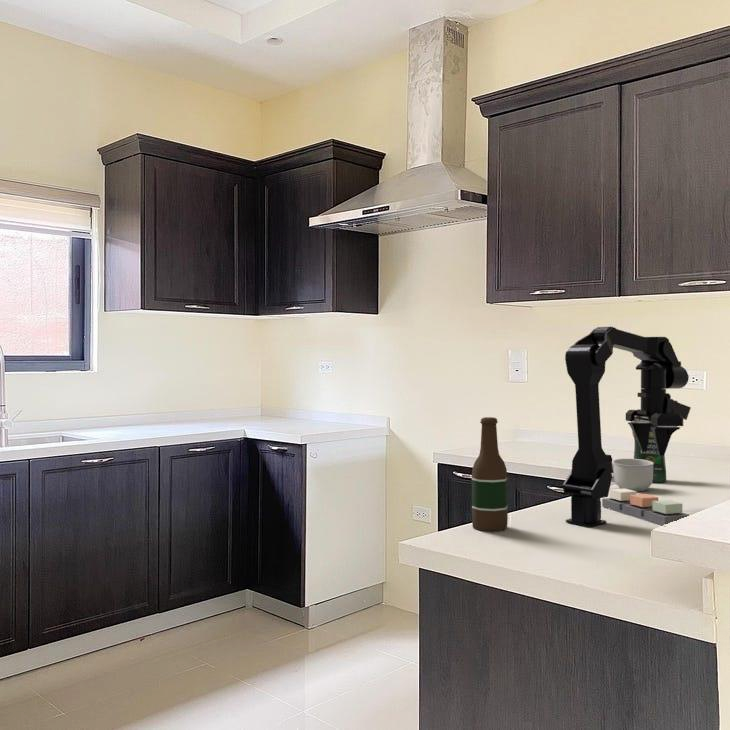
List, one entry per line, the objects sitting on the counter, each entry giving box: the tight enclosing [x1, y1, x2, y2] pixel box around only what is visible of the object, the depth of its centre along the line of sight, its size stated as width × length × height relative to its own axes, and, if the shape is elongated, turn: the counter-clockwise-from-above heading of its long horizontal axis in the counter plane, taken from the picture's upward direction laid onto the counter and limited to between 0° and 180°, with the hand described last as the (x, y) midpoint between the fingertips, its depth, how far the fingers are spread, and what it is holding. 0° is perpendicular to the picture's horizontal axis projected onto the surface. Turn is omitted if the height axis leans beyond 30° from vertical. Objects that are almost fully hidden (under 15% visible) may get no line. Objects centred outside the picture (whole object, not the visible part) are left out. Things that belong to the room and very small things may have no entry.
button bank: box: [601, 497, 690, 526], centre depth 173 cm, size 23×7×2 cm, turn 16°
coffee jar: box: [631, 421, 667, 484], centre depth 221 cm, size 10×8×19 cm
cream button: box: [609, 488, 638, 501], centre depth 181 cm, size 4×4×2 cm
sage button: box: [652, 499, 683, 514], centre depth 166 cm, size 4×4×2 cm
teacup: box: [611, 458, 654, 492], centre depth 208 cm, size 14×11×8 cm
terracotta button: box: [630, 493, 659, 507], centre depth 173 cm, size 4×4×2 cm
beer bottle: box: [471, 416, 509, 533], centre depth 161 cm, size 8×8×24 cm
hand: (652, 453), depth 179 cm, fingers open, 9 cm apart
